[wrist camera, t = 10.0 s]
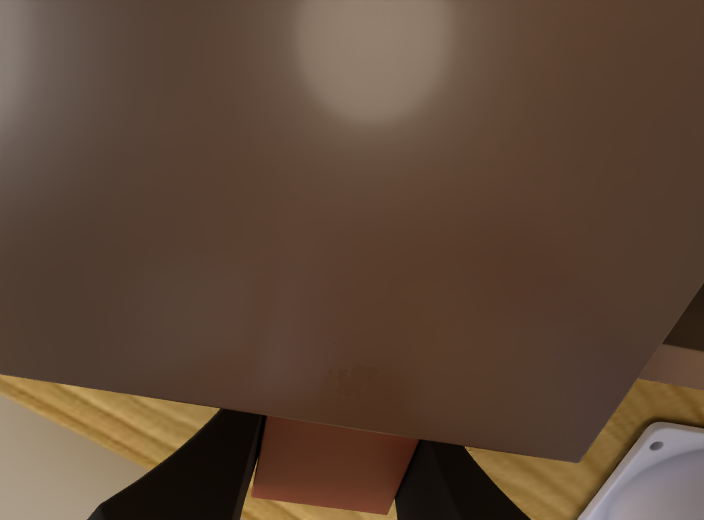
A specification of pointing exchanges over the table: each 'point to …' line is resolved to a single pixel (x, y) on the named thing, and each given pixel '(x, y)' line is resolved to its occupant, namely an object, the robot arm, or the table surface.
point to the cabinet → (354, 207)
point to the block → (330, 465)
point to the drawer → (681, 350)
